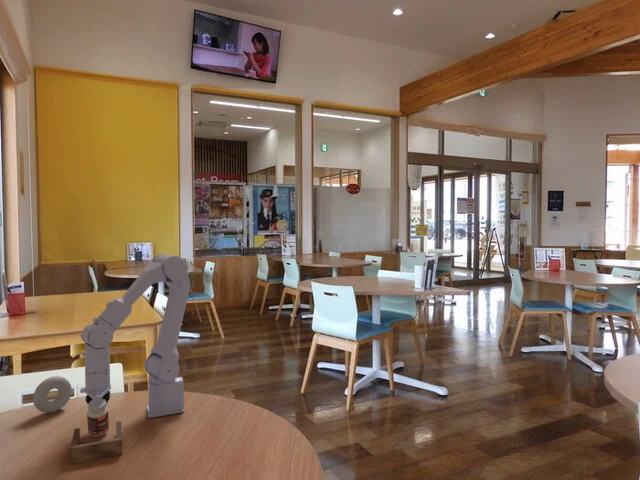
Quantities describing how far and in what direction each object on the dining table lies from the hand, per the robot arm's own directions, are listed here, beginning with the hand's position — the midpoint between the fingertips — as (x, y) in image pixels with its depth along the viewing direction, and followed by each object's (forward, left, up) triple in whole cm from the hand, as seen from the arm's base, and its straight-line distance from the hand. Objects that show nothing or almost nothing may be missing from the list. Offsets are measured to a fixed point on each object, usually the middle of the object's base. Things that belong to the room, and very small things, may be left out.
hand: (98, 422), depth 117 cm
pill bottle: (0, +2, -1) cm, 3 cm away
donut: (+12, -17, -2) cm, 21 cm away
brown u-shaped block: (0, +11, -2) cm, 11 cm away
